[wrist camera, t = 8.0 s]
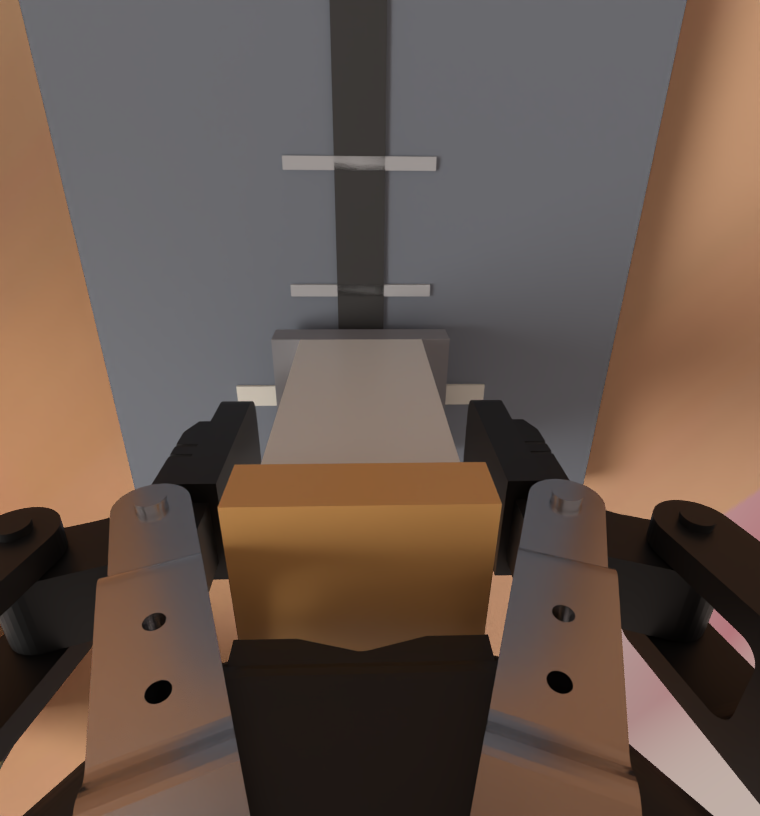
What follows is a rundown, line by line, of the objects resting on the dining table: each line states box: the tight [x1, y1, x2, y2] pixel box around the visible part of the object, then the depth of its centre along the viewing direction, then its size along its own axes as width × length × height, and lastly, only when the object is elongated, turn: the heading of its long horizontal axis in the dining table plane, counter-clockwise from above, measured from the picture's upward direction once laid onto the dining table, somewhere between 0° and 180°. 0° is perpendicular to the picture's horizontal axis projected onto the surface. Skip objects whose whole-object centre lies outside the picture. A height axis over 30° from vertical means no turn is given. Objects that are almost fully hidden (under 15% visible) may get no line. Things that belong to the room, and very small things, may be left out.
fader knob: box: [218, 329, 502, 651], centre depth 11 cm, size 4×4×8 cm
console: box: [19, 0, 687, 489], centre depth 13 cm, size 20×14×2 cm
